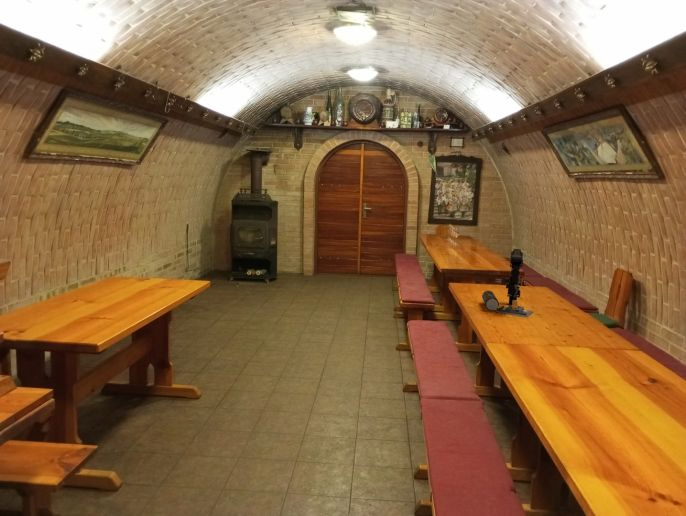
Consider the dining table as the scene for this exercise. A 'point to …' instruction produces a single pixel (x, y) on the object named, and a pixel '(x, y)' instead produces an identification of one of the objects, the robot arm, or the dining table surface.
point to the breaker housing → (515, 309)
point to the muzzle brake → (490, 300)
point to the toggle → (514, 304)
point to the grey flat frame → (510, 311)
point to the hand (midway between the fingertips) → (513, 297)
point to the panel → (515, 313)
